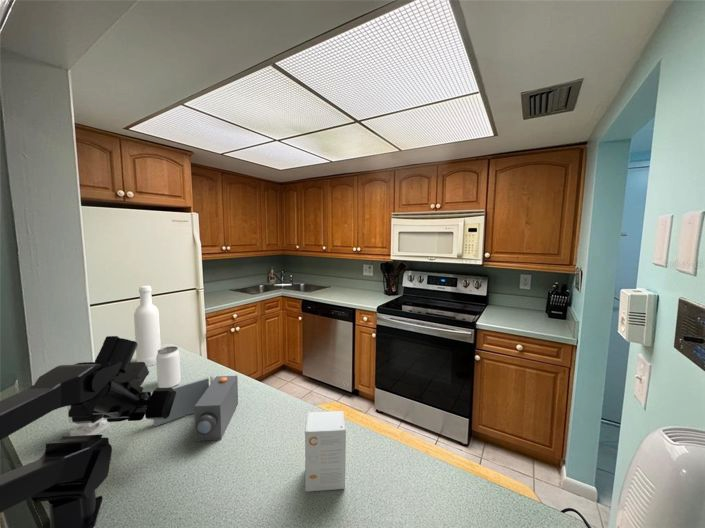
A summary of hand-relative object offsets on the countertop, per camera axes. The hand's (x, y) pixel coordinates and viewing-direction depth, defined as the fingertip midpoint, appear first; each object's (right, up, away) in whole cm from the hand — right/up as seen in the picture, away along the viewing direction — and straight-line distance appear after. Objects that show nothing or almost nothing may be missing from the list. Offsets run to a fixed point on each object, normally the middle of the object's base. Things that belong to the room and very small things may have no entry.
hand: (144, 413), depth 69 cm
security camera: (-15, -6, +3) cm, 16 cm away
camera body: (+14, -6, +7) cm, 17 cm away
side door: (+4, -5, +9) cm, 12 cm away
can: (-10, -4, +25) cm, 28 cm away
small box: (+45, -9, -9) cm, 47 cm away
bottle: (-28, -2, +40) cm, 49 cm away
